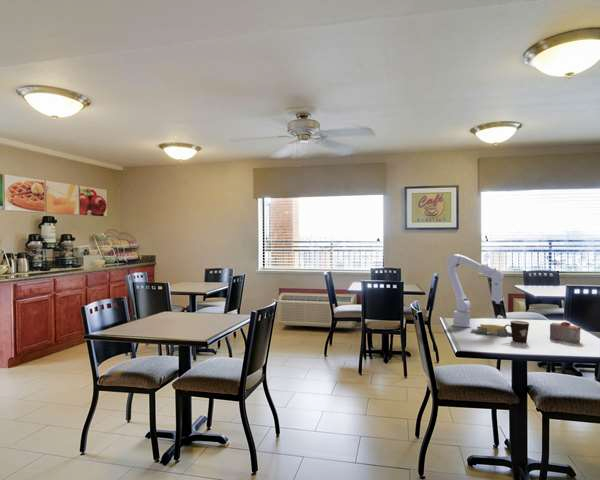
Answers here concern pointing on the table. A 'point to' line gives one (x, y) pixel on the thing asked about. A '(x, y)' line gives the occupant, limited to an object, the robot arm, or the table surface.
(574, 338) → the food item
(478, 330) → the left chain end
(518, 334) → the coffee mug
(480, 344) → the table surface
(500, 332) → the right chain end
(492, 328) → the tan wooden beam
